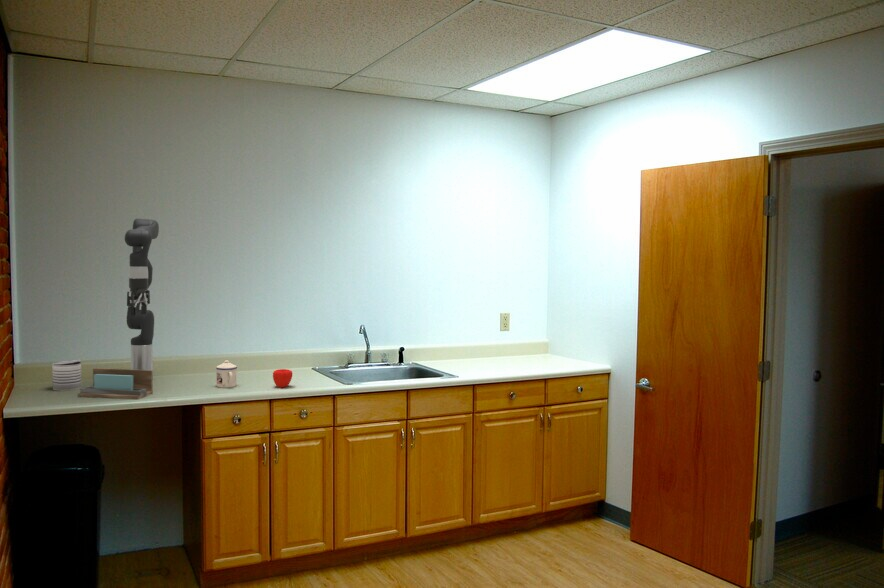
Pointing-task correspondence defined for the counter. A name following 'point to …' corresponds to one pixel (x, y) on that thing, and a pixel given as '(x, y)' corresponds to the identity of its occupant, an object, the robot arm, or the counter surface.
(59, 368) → the can
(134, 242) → the robot arm
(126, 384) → the sliding panel
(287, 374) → the apple
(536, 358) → the counter surface
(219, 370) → the teacup with lid
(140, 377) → the brown wooden stand
